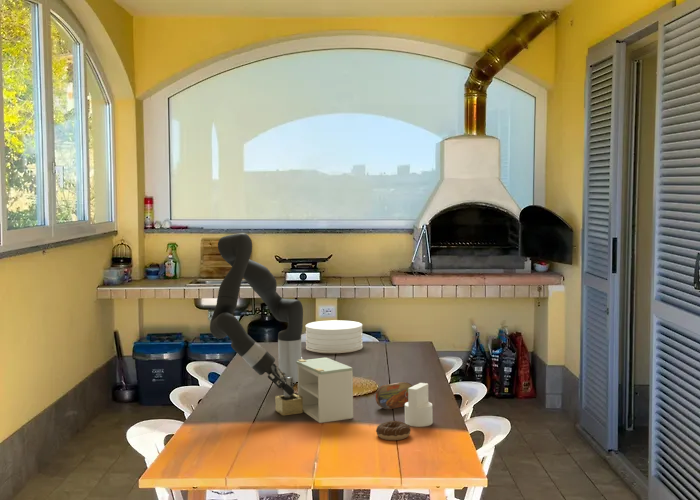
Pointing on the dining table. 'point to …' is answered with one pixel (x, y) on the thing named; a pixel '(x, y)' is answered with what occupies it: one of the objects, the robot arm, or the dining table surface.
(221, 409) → the dining table surface
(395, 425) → the donut
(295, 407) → the tan open box
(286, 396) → the hinge pin
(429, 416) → the cylinder with rectangular tab
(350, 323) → the plate stack
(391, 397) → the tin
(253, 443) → the dining table surface
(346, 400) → the cabinet
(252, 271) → the robot arm
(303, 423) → the dining table surface
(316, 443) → the dining table surface
